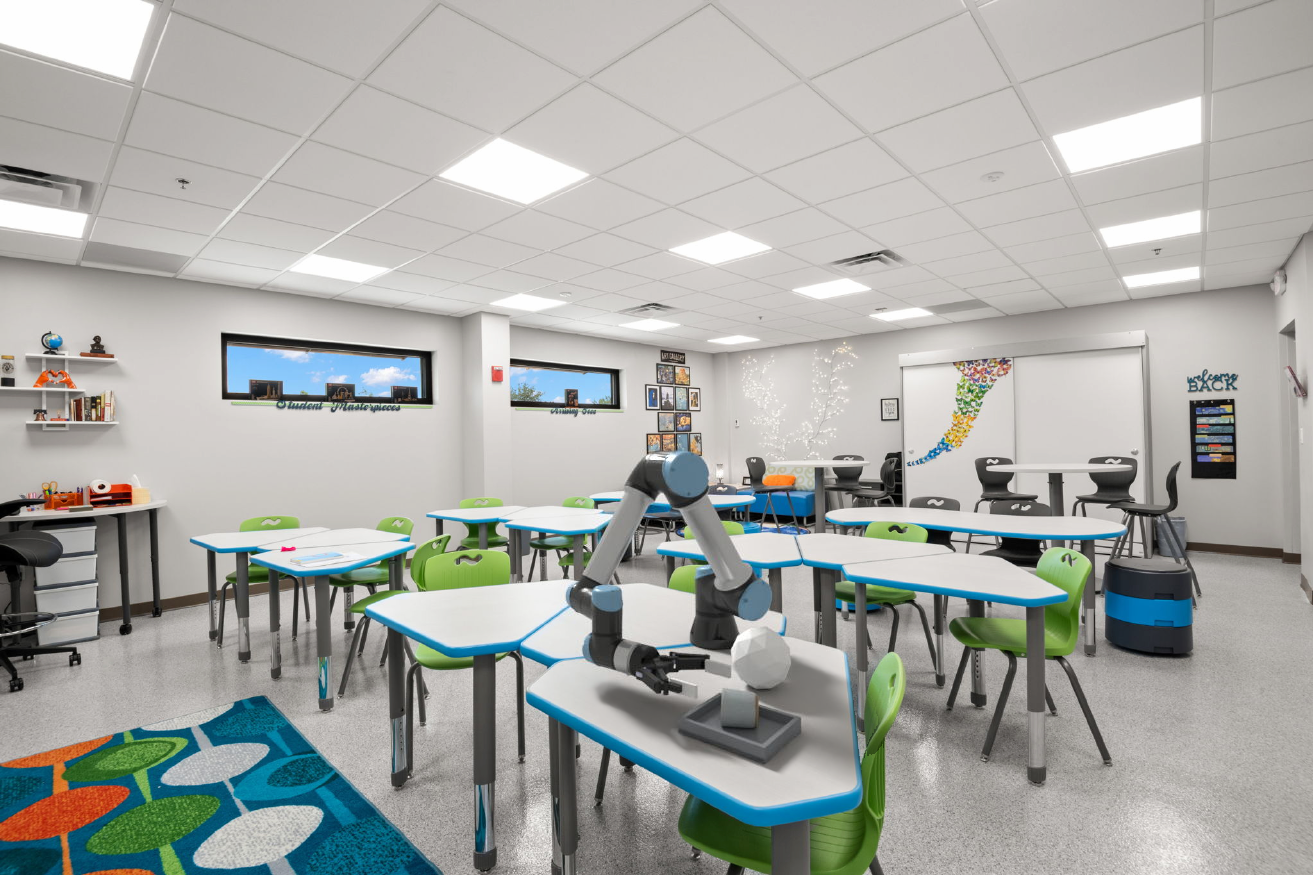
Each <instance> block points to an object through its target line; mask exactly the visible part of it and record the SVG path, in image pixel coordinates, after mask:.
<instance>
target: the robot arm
mask: <svg viewBox="0 0 1313 875" xmlns="http://www.w3.org/2000/svg"><path fill="white" fill-rule="evenodd" d="M709 477H710V471H709V467H708V465H707V463H706V461H705V459H703V457H701V456H700V455H699V454H697V453H695V452H692V451H688V450H683V449H680V450H679V449H678V450H663V449H662V450H661V449H659V450H658V449H657V450H654V451H651V452H649V453H647V454H646V455H645V456H644V457H642V458H641V459H640V460H639V461H638V462H637V464H636V465H635V467H634V468H633V470H632V471H631V473H630V474H629V476H628V478H627V480H626V482H625V484H624V486H623V491H624V494H623V496H622V498H621V499H620V501H619V503H618V505H617V507H616V509H615V511H614V513H613V515H612V517H611V519H610V520H609V523H608V525H607V526H606V528H605V531H604V532H603V534H602V536H601V538H600V540H599V541H598V544H597V546H596V547H595V550H594V552H593V553H592V554H591V557H590V559H589V561H588V563H587V565H586V567H585V569H584V571H583V572H582V574H581V576H580V578H579V580H577V581H574V582H572V583H571V584H570V585H569V586H568V587H567V589H566V590H565V601H566V604H567V605H568V606H569V607H570V608H571V609H572V610H574V611H575V613H577V614H581V615H583V616H584V617H586V618H588V619H589V620H591V632H590V633H588V634H587V636H586V637H585V638H584V640H583V644H582V646H581V647H582V648H581V652H582V653H581V654H582V655H583V658H584V659H585V660H586V662H588V663H591V664H593V665H595V666H597V667H601V668H604V669H609V670H613V671H615V672H618V673H621V674H625V675H626V676H627V677H629V676H632V677H634V678H635V679H636V680H637V681H640V682H642V683H643V684H644V685H646V687H648V688H649V689H650V690H651V691H653V693H655V694H657V695H659V694H661V693H662V695H663V696H668V695H669V694H670V692H671V693H673V694H677V695H680V696H683V697H687V698H690V699H693V700H698V690H699V689H698V684H696V683H691V682H690V681H686V680H682V679H679V678H676V677H671V678H669V677H668V676H667V675H668V674H670V673H671V674H672V673H679V672H680V671H700V670H701V671H703V670H704V672H705V673H708V674H712V675H715V676H720V677H722V678H723V677H724V678H727V679H731V678H732V664H728V663H724V662H720V661H716V660H713V659H711V655H710V654H708V653H707V654H706V653H705V654H701V653H687V652H685V653H684V652H676V651H669V652H668V655H667V654H660V652H659V651H658V649H657V648H656V647H655V646H652V645H648V644H646V643H645V644H644V643H641V642H638V641H634V640H631V639H626V638H623V613H624V612H623V611H624V610H623V606H624V602H623V601H624V600H623V591H622V588H621V587H620V586H618V585H613V584H610V582H611V580H612V579H613V576H614V575H615V573H616V571H617V569H618V566H619V565H620V562H622V558H623V557H624V555H625V553H626V551H627V549H628V548H629V545H630V543H631V541H632V540H633V538H634V535H635V534H636V533H635V532H637V529H638V527H639V525H640V523H641V521H642V519H643V517H644V516H645V513H646V512H647V510H648V507H649V506H651V505H653V504H654V503H655V502H656V500H657V498H658V496H660V495H661V494H663V495H664V496H665V499H666V501H667V502H668V503H669V506H670V507H671V508H672V509H673V510H677V511H679V512H680V514H681V515H682V517H683V519H684V521H685V523H686V525H687V527H688V529H689V531H690V532H691V534H692V536H693V537H694V540H695V541H696V543H697V544H698V546H699V548H700V550H701V552H702V554H703V555H704V558H705V559H706V562H708V564H704V565H700V566H698V567H696V569H695V576H694V581H695V582H694V587H695V588H694V593H695V596H694V597H695V598H694V599H695V600H694V601H695V603H694V605H695V613H694V614H695V616H694V618H693V621H692V624H691V628H690V631H689V642H690V644H691V645H693V646H696V647H698V648H703V649H709V650H723V649H730V648H731V649H732V647H733V645H734V643H735V641H736V639H737V637H738V635H740V634H741V633H740V631H739V628H738V624H737V621H736V618H735V617H737V618H739V619H741V620H744V621H750V622H756V621H759V620H760V619H762V618H763V617H764V616H765V615H766V614H767V613H768V612H769V610H770V608H771V603H772V602H773V601H772V600H773V592H772V587H771V586H770V583H768V582H767V581H766V580H764V579H761V578H758V575H757V574H756V572H755V571H754V569H753V567H752V566H751V564H750V563H748V562H743V560H742V558H741V555H740V554H739V552H738V550H737V548H736V547H735V545H734V542H733V540H732V539H731V537H730V535H729V533H728V532H727V530H726V527H725V526H724V524H723V522H722V520H721V518H720V517H719V515H718V512H717V510H716V509H715V506H714V505H713V503H712V500H711V499H710V497H709V496H708V494H709V493H710V489H711V488H710V486H709V481H710V479H709Z"/></svg>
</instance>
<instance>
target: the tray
mask: <svg viewBox="0 0 1313 875" xmlns="http://www.w3.org/2000/svg"><path fill="white" fill-rule="evenodd" d="M721 702H722V692H718V693H717V694H715V695H713V696H712V697H709V698H708V699H707V700H705V701H703V702H702V703H700V704H699V705H697V706H696V707H694V708H692V709H691V710H689V711H687V712H686V713H685V714H682V715H681V716H679V717H678V718H677V719H678V720H677V723H678V726H677V728H678V729H677V730H678V733H679V734H681V735H684V736H687V737H690V738H692V739H695V740H698V741H701V742H704V743H706V744H709V745H712V746H714V747H717V748H720V749H723V750H725V751H727V752H731V753H734V754H737V755H739V756H742V757H744V758H747V759H750V760H752V761H755V762H758V763H760V764H764V765H765V764H767V762H769V761H770V760H771V759H772V758H773V757H774V756H775V755H777V754H778V753H779V752H780V751H781V750H782V749H783V748H785V747H786V746H787V745H788V744H789V743H790V742H792V740H794V738H796V737H797V736H798V735H799V734H800V733H801V732H802V716H798V715H796V714H792V713H789V712H785V711H781V710H778V709H775V708H771V707H768V706H765V705H761V704H759V713H758V726H757V727H755V728H741V727H727V726H721V723H720V722H721Z"/></svg>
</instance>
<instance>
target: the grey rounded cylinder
mask: <svg viewBox="0 0 1313 875" xmlns="http://www.w3.org/2000/svg"><path fill="white" fill-rule="evenodd" d="M721 693H722V702H721V722H720V723H721V726H727V727H741V728H755V727H757V726H758V713H759V705H760V704H759V702H760V699H759V697H760V696H759V695H758V694H757V693H755V692H753V691H748V690H739V689H733V688H727V687H723V688H722V689H721Z"/></svg>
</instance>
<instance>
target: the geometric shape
mask: <svg viewBox="0 0 1313 875" xmlns="http://www.w3.org/2000/svg"><path fill="white" fill-rule="evenodd" d="M739 634H740V635H738V637H737V639H736V641H735V643H734V645H733V647H731V649H730V655H731V656H730V657H731V663H732V664H731V668H733V670H734V671H735V673H736V674H737V677H738V678H739V679H740V681H743V682H744V683H746V684H747V685H749V686H750V687H752V688H753V689H755V690H765V689H773V688H774V687H775V686H777V685H779V684H781V682H784V681H785V680H786V678H787V675H788V673H789V670H790V669H791V666H792V658H791V649H790V648H791V647H790V646H789V645H788V644H787V642H786V640H784V638H783V637H782V635H781V634H780V633H778V632H776V631H775V630H773V629H771V628H770V627H768V626H757V627H750V628H749V629H746V630H745V631H743V632H742V633H739Z"/></svg>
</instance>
